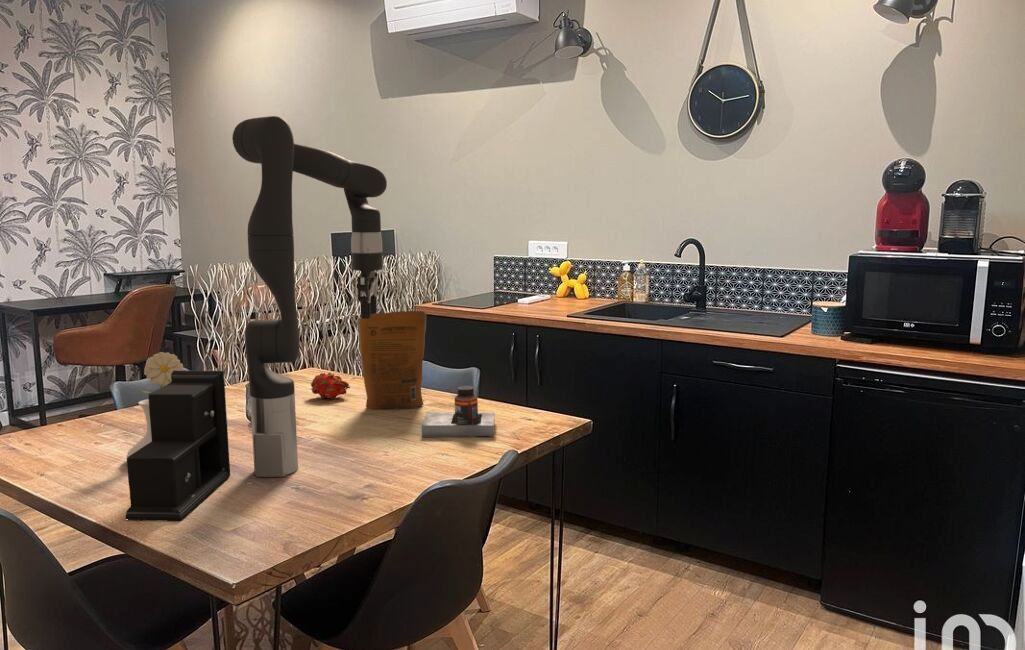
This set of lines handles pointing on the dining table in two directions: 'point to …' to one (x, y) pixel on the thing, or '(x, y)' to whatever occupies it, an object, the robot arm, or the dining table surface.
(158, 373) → the flower in vase
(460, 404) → the supplement bottle
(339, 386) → the dragon fruit
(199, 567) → the dining table surface
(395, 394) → the pancake mix bag
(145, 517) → the black drawer cabinet
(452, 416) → the grey block with hole
